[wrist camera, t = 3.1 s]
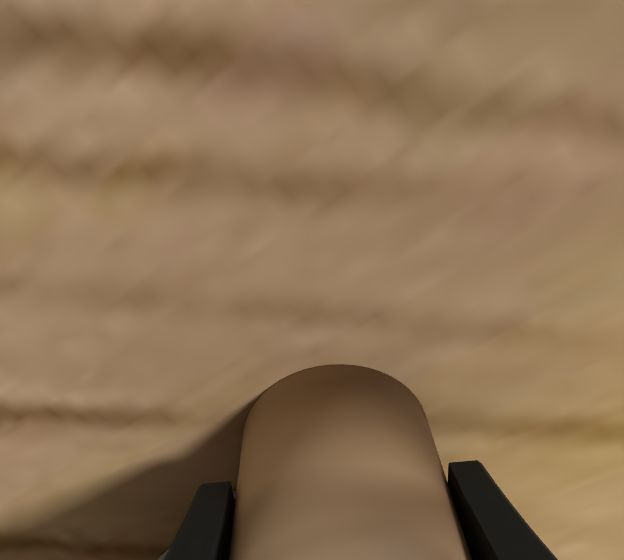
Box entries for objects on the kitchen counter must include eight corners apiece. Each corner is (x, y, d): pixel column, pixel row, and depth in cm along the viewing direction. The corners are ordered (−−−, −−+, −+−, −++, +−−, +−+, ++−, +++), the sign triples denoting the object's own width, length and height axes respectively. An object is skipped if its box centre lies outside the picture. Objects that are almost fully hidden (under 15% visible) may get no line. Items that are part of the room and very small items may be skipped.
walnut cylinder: (465, 427, 13) (584, 716, 8) (343, 526, 15) (371, 823, 9) (326, 330, 12) (354, 603, 6) (206, 450, 13) (147, 751, 8)
